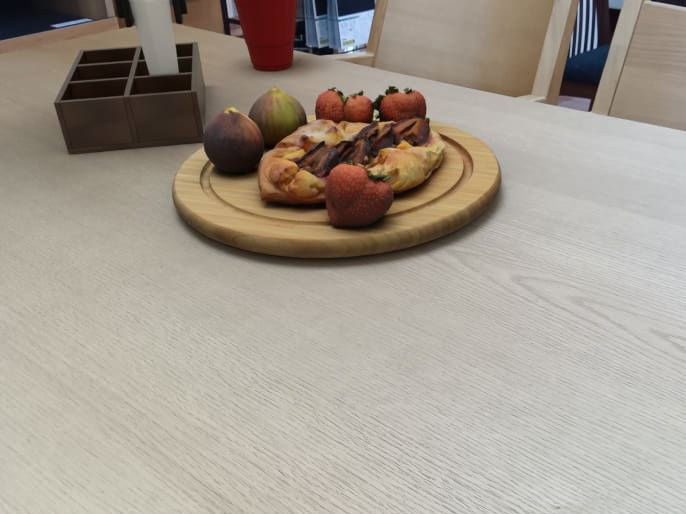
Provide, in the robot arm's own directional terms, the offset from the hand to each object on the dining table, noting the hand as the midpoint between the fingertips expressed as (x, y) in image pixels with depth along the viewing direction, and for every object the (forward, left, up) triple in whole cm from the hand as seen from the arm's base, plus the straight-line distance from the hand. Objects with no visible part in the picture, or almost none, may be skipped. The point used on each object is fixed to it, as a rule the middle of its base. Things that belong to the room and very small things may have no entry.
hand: (155, 21), depth 87 cm
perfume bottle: (0, 0, -10) cm, 10 cm away
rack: (-4, 0, -11) cm, 11 cm away
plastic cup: (+14, +18, -11) cm, 26 cm away
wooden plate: (+17, -28, -11) cm, 34 cm away
